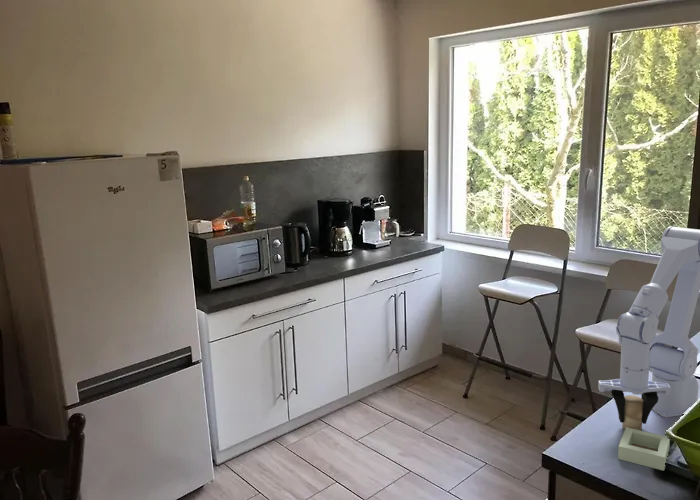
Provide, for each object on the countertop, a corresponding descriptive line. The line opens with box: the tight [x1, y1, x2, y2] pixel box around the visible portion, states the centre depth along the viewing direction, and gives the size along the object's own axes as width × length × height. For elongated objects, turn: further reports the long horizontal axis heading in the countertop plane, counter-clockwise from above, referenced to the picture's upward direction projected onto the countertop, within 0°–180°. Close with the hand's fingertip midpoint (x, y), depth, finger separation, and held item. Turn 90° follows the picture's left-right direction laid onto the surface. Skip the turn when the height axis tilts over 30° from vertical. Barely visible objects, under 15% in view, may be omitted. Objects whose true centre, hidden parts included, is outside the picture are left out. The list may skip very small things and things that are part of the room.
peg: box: [621, 394, 643, 431], centre depth 129 cm, size 4×4×7 cm
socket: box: [617, 427, 671, 472], centre depth 120 cm, size 8×8×3 cm
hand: (632, 420), depth 130 cm, fingers closed on peg, 4 cm apart
